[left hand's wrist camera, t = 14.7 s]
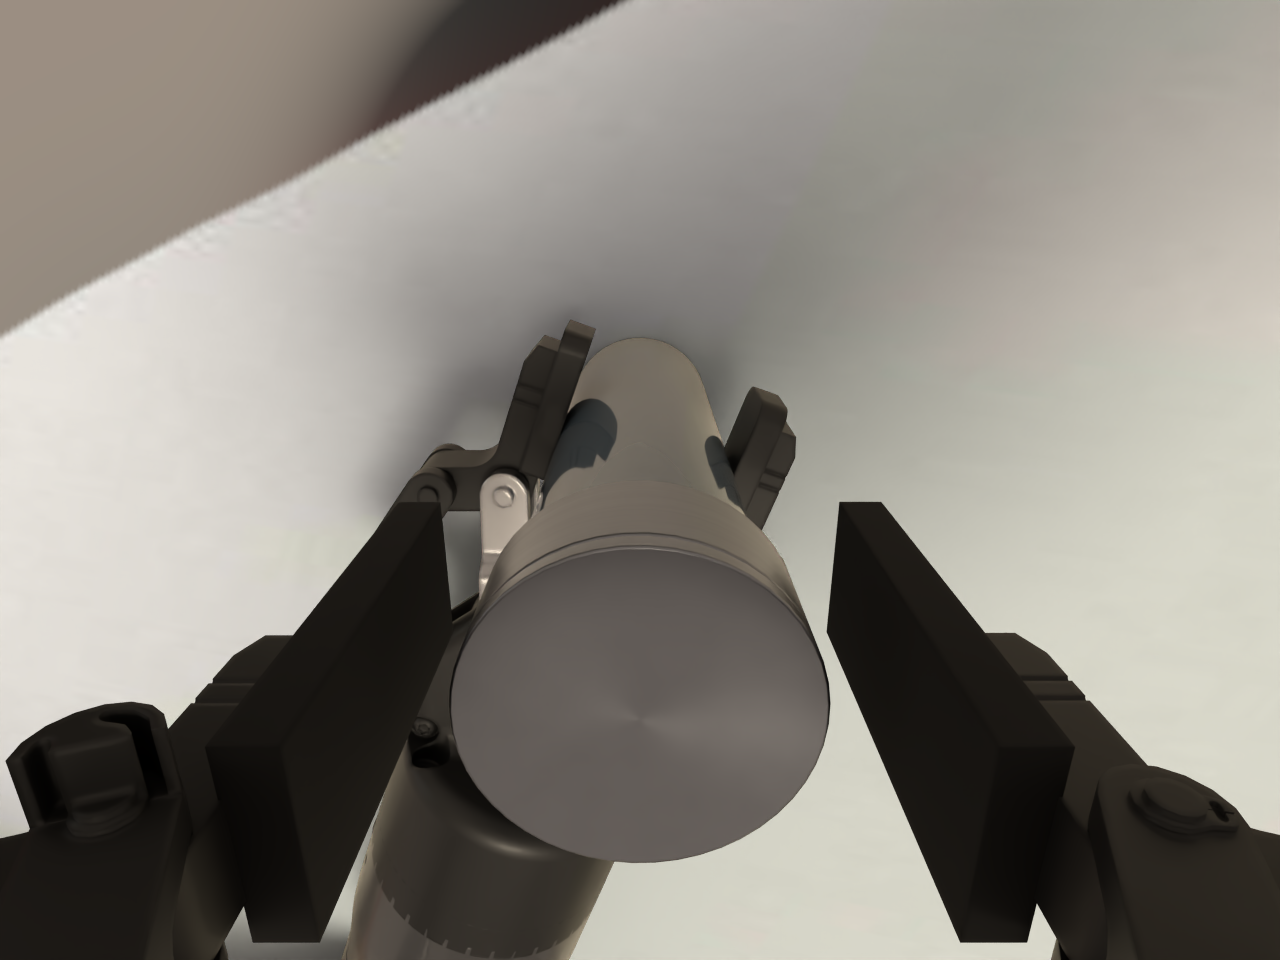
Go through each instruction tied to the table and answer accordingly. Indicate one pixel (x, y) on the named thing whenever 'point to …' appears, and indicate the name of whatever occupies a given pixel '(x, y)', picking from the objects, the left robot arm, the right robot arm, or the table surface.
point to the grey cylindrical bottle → (639, 426)
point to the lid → (639, 677)
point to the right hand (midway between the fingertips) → (674, 366)
